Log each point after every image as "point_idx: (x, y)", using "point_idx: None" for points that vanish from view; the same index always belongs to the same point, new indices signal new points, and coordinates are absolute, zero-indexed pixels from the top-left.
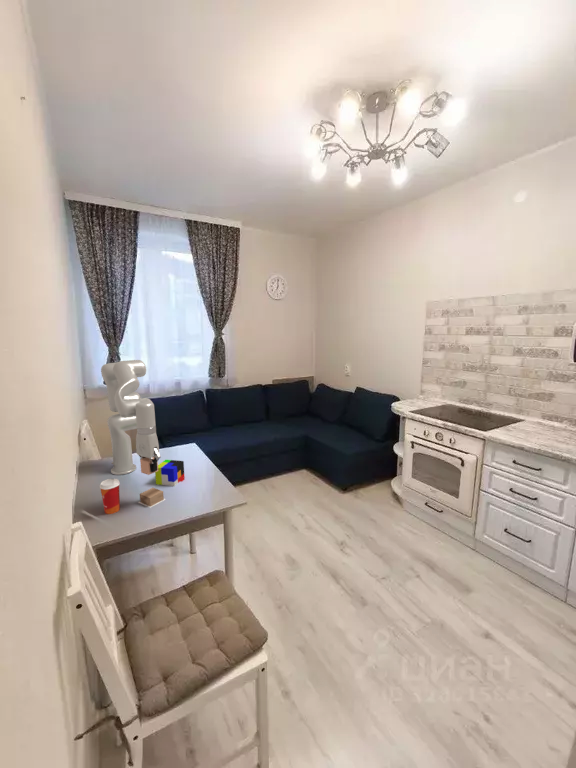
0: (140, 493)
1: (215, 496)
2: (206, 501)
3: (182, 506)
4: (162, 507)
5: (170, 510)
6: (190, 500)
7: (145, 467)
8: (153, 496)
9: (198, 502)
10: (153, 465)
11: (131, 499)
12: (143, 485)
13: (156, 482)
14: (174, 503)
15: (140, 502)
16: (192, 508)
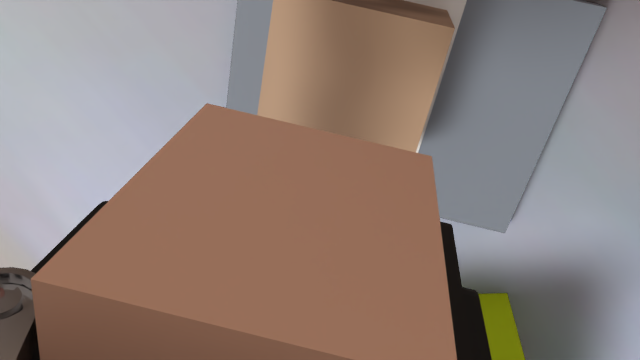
0: (450, 40)
1: (13, 262)
2: (9, 197)
3: (94, 93)
4: (221, 29)
5: (127, 10)
6: (111, 181)
7: (249, 190)
8: (268, 34)
9: (42, 172)
10: (39, 262)
11: (597, 57)
12: (630, 284)
13: (507, 317)
14: (181, 113)
15: (442, 7)
16: (11, 91)
